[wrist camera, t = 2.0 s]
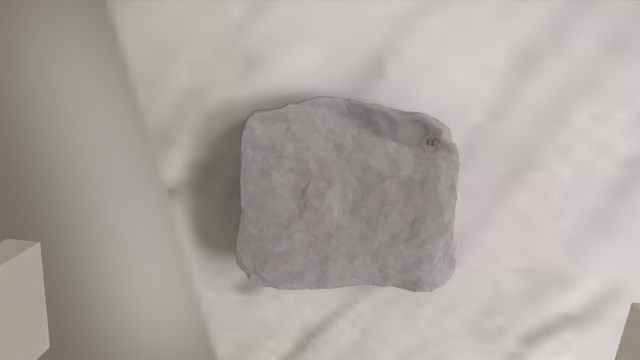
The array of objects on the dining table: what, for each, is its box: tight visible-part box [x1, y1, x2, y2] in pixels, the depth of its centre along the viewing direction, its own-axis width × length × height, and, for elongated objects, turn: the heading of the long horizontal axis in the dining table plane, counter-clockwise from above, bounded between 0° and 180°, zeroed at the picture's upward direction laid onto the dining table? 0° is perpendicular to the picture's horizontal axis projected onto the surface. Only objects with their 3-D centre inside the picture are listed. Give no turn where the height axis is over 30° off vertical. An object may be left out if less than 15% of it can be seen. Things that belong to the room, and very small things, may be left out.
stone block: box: [235, 97, 459, 292], centre depth 24 cm, size 12×5×10 cm
